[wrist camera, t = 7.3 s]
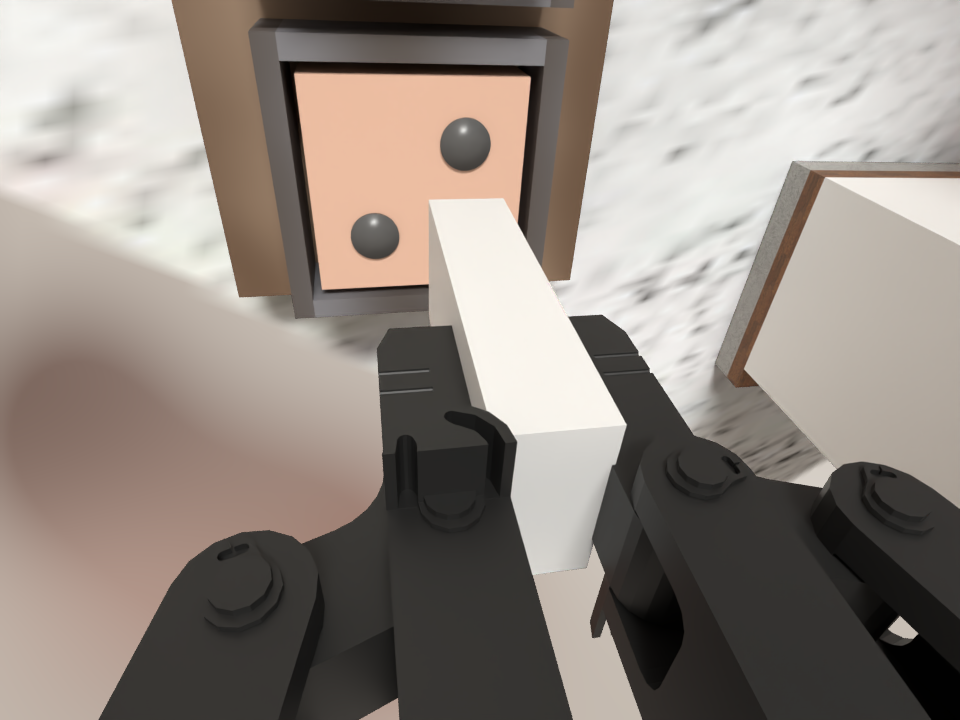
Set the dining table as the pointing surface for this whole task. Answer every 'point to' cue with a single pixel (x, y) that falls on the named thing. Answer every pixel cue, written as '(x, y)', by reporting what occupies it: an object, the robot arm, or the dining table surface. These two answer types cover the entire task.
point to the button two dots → (403, 157)
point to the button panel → (379, 39)
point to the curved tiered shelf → (860, 315)
